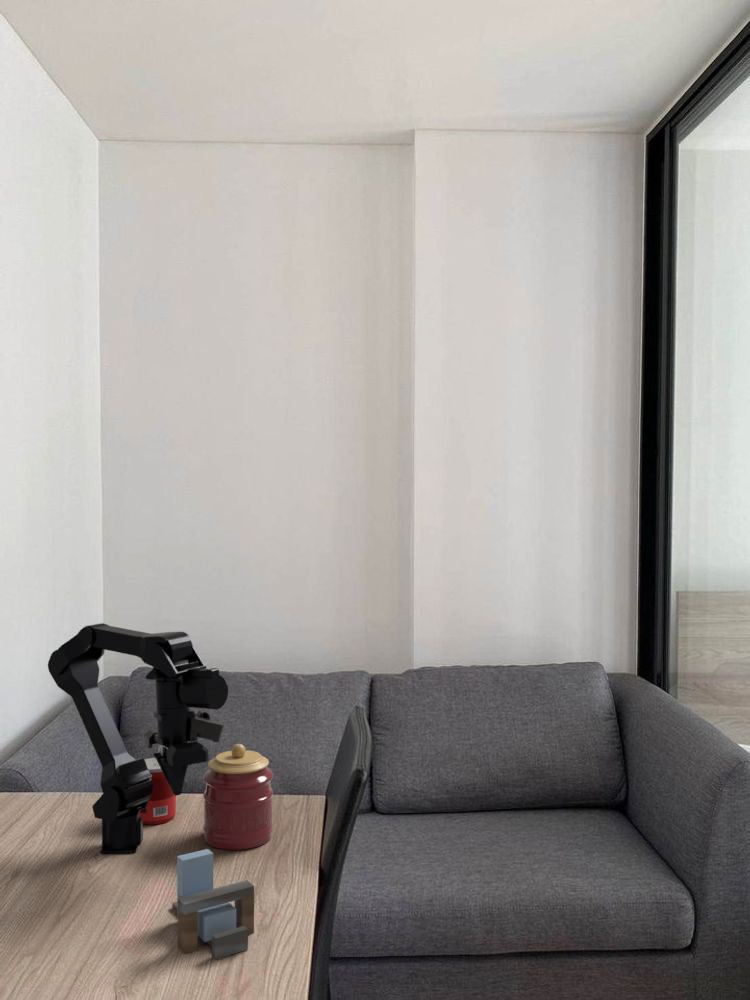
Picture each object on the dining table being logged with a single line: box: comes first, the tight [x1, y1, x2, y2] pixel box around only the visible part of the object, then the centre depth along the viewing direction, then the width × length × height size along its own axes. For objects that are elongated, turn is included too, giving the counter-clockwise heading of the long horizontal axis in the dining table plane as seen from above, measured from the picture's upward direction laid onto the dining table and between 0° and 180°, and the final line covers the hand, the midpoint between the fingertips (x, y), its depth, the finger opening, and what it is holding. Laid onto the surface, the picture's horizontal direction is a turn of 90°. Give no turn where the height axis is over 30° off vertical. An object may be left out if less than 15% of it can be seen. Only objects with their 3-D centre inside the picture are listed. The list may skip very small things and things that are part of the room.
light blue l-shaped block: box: [176, 848, 236, 943], centre depth 138 cm, size 10×5×9 cm, turn 34°
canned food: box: [140, 757, 177, 826], centre depth 183 cm, size 8×8×11 cm
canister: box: [202, 743, 274, 851], centre depth 173 cm, size 13×13×18 cm
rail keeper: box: [171, 879, 255, 960], centre depth 138 cm, size 18×11×7 cm, turn 34°
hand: (177, 794), depth 162 cm, fingers closed
